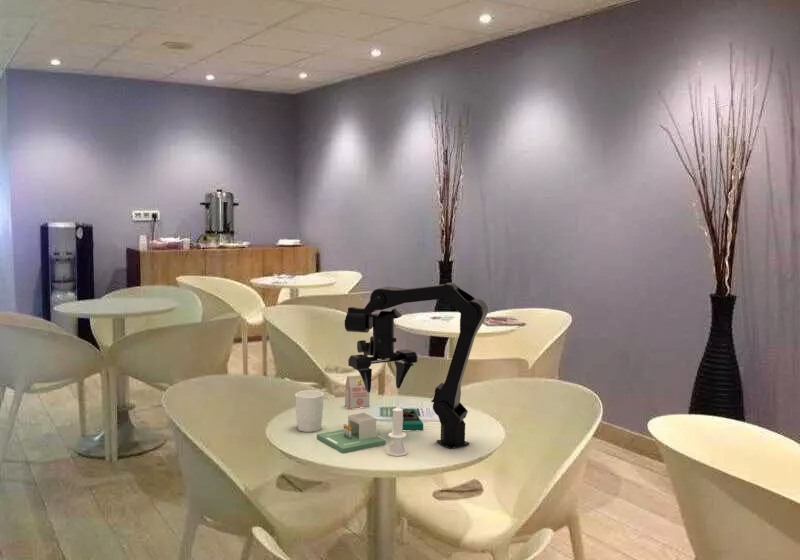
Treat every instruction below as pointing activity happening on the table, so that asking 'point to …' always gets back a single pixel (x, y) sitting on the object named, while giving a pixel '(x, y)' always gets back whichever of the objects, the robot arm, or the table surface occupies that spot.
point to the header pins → (347, 432)
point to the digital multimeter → (411, 420)
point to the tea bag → (356, 393)
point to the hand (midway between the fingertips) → (383, 390)
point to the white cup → (309, 410)
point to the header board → (349, 441)
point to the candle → (397, 434)
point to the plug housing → (362, 425)
